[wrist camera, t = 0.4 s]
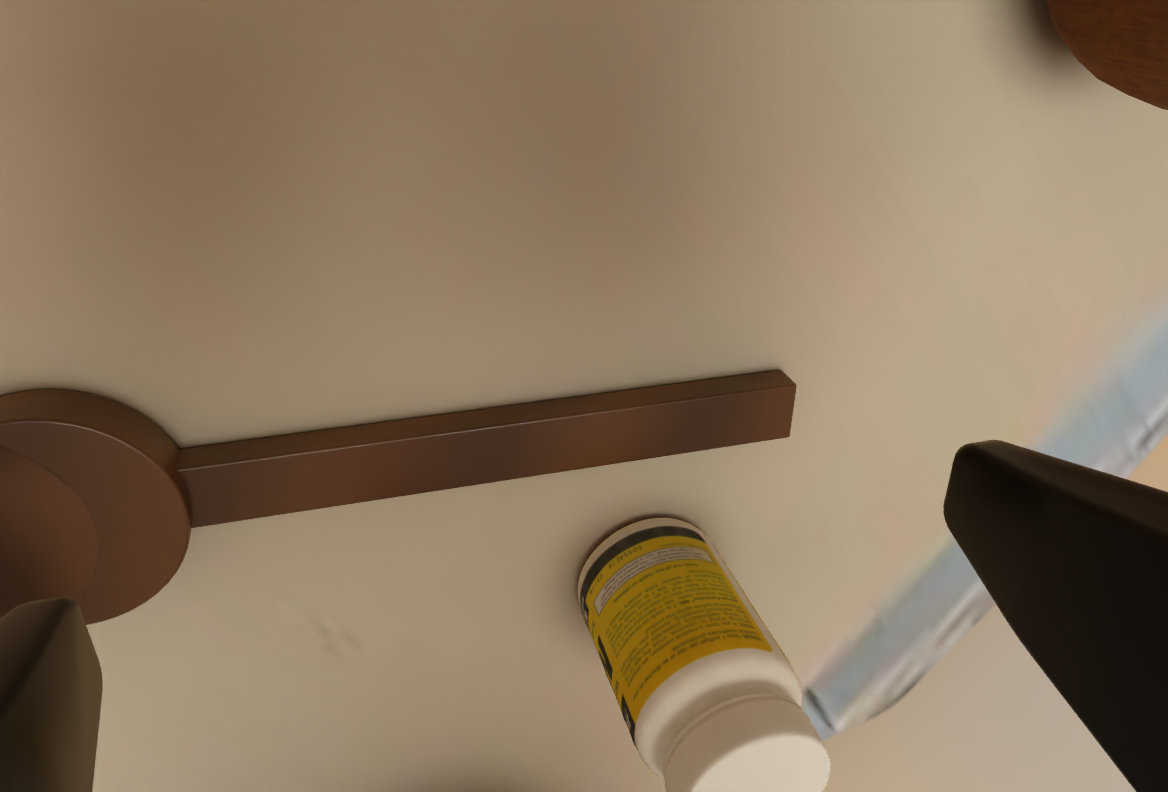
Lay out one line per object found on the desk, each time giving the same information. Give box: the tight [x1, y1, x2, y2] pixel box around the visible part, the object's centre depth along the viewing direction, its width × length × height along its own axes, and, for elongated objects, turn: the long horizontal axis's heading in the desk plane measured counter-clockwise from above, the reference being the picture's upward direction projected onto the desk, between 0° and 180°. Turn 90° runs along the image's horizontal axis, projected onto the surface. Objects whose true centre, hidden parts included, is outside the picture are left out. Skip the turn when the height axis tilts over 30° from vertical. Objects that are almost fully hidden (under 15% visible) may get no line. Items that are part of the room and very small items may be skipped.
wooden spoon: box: [0, 370, 796, 625], centre depth 23 cm, size 24×6×2 cm, turn 89°
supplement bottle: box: [578, 518, 831, 792], centre depth 25 cm, size 5×5×8 cm
